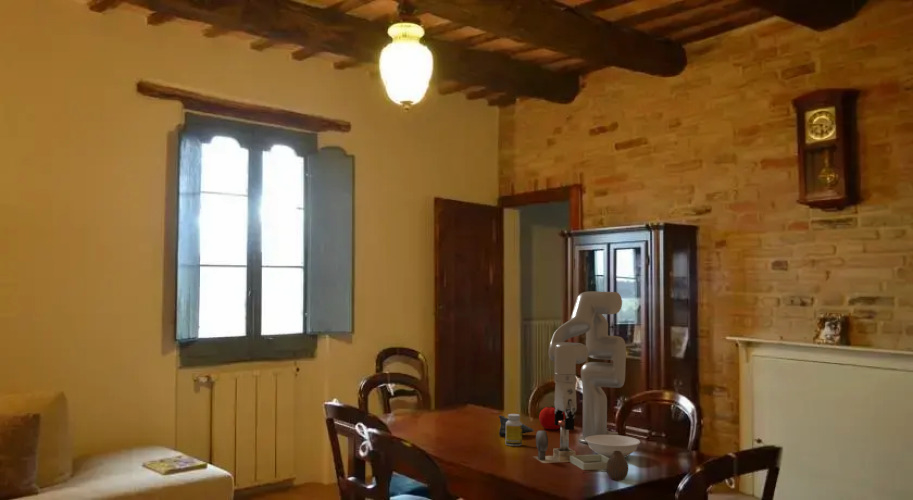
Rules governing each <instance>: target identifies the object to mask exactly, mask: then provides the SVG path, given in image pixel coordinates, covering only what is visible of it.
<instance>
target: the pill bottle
mask: <svg viewBox="0 0 913 500" xmlns="http://www.w3.org/2000/svg"><path fill="white" fill-rule="evenodd" d="M507 418H508V419H509V420H508V421H507V422H506V436H505V440H504V441H505V443H504V444H505V445H506V446H509V447H519V446H522V444H523V434H522V424H523V422H522V421H521V420H520V418H521V415H520V414H518V413H508V414H507Z"/></svg>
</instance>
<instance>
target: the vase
mask: <svg viewBox="0 0 913 500" xmlns="http://www.w3.org/2000/svg"><path fill="white" fill-rule="evenodd" d="M608 458H609V459H608V462H607V469H606V471H607V472H606V473H607V475H608V476H609V477H610V479H611V480H614V479H615V481H622V480H624V479H626V478H627V476H628V473H629V463H628V460H627V459H626V457H624V456H623V455H622V452H621V451H614V452H613V454H612V456H611V457H608Z"/></svg>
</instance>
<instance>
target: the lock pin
mask: <svg viewBox="0 0 913 500" xmlns="http://www.w3.org/2000/svg"><path fill="white" fill-rule="evenodd" d="M558 425H560V428H559V431H560V432H559V433H560V434H559V435H560V437H559V448H560V451H561V452H562V451H569V448H570V447H569V445H570V438H569V437H570V436H569V435H570V432H569V431H570V430H565V420H558Z"/></svg>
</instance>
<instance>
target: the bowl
mask: <svg viewBox="0 0 913 500" xmlns="http://www.w3.org/2000/svg"><path fill="white" fill-rule="evenodd" d="M585 440H586V441H587V443H588V445H587V446H588V447H589V449H591V450H592V451H593V452H594V453H595V454H596V455H598V454H602V455H604V456H606V457H608V458H610V457H611V456H612V454H613V452H614V451H621V452H622V455H623V456H624V457H625V458H626V457H628V456H629V455H632V453H634V452H636V451H637V449H638V446H639V445H640V444H641V441H640V439H638V438H634V437H631V436H626V435H619V434H618V435H593V436H588V437H586V438H585Z"/></svg>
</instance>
